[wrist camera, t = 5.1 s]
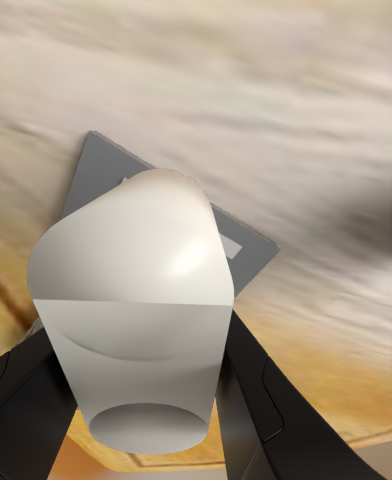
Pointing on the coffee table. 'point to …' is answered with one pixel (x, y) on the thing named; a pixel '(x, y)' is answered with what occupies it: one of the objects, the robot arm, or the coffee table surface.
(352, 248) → the coffee table surface
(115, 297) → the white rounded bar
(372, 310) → the coffee table surface
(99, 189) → the charging dock
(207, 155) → the coffee table surface
